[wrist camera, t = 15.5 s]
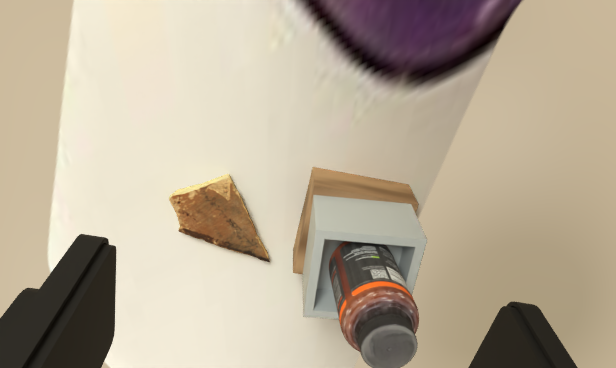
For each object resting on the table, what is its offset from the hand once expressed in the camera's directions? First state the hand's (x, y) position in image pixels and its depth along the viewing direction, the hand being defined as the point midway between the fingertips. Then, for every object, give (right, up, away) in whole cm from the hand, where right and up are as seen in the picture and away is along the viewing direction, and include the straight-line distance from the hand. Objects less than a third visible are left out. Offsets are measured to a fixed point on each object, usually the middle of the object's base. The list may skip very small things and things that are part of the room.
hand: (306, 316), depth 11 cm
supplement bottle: (+5, -4, +31) cm, 32 cm away
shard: (-8, +1, +38) cm, 38 cm away
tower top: (+5, -2, +34) cm, 34 cm away
